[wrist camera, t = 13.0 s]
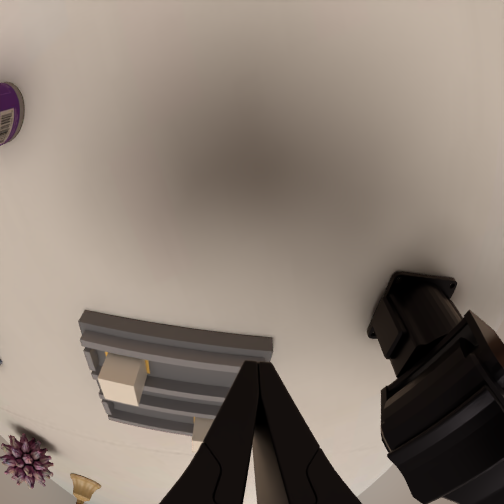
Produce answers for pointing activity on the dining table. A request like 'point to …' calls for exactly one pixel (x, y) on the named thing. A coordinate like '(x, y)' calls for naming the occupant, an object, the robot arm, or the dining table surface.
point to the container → (10, 112)
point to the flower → (26, 461)
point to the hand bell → (83, 488)
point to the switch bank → (170, 368)
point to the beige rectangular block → (123, 378)
